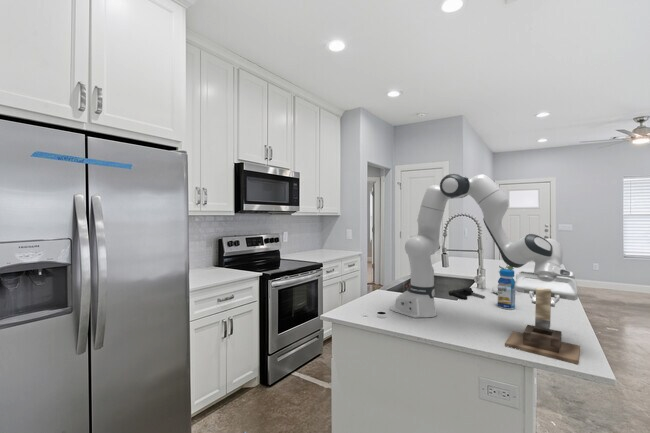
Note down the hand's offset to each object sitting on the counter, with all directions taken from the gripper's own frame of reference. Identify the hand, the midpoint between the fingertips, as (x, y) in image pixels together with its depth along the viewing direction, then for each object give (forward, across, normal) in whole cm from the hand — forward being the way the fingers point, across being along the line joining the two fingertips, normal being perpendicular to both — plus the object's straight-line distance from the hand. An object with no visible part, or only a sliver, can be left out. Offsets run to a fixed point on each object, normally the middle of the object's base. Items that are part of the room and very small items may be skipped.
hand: (543, 304), depth 122 cm
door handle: (-29, -43, +53) cm, 74 cm away
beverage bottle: (-22, -21, +46) cm, 55 cm away
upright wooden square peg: (+6, 0, +6) cm, 8 cm away
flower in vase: (-43, -28, +67) cm, 84 cm away
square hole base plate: (+11, 0, +12) cm, 16 cm away
